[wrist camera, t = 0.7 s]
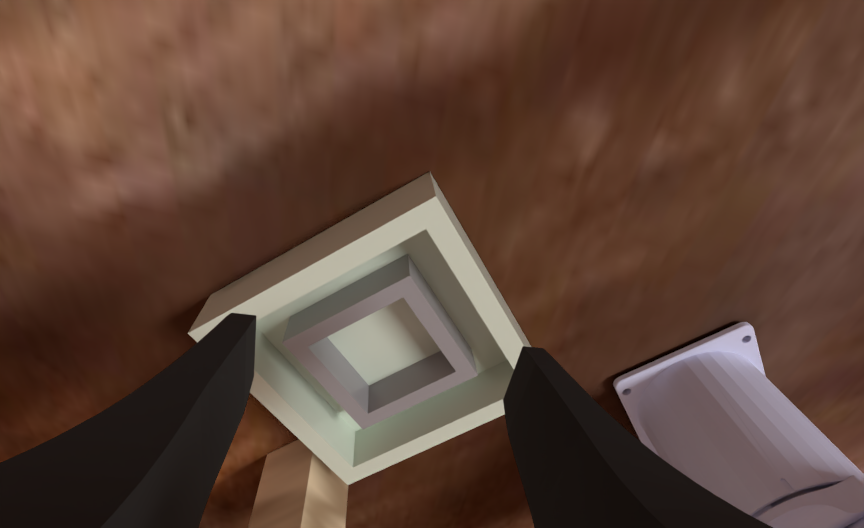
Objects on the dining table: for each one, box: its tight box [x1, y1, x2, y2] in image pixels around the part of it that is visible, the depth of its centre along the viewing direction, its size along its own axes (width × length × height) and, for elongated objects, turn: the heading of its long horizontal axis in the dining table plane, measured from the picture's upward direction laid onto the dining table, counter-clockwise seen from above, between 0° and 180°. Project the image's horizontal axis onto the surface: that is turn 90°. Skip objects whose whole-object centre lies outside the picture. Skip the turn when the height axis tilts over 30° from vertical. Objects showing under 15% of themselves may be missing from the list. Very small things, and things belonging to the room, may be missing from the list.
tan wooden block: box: [248, 439, 348, 528], centre depth 26 cm, size 4×4×7 cm
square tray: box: [188, 172, 531, 485], centre depth 23 cm, size 12×12×3 cm
